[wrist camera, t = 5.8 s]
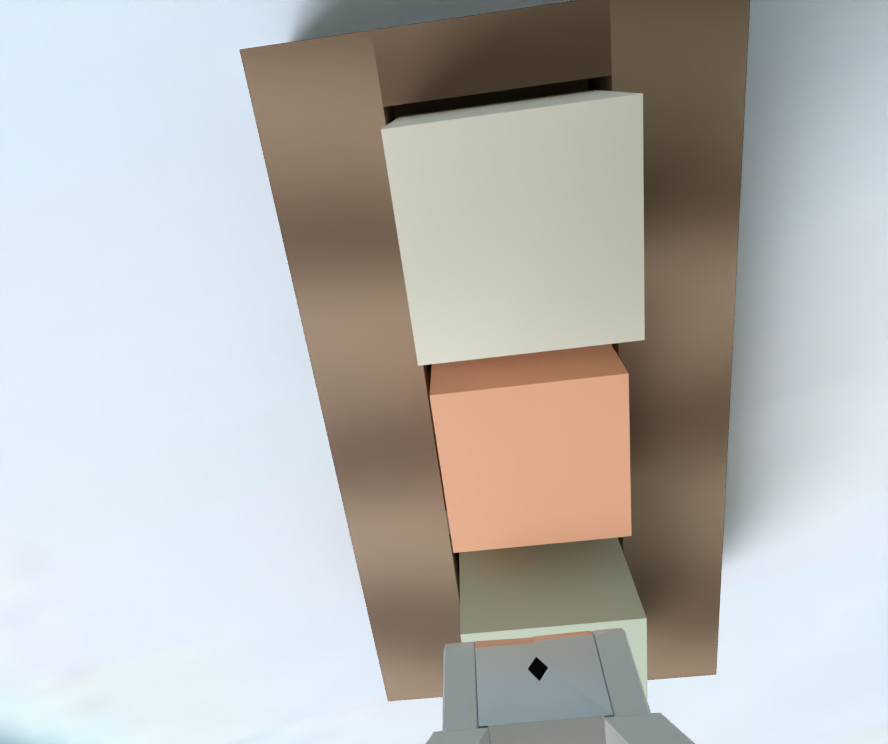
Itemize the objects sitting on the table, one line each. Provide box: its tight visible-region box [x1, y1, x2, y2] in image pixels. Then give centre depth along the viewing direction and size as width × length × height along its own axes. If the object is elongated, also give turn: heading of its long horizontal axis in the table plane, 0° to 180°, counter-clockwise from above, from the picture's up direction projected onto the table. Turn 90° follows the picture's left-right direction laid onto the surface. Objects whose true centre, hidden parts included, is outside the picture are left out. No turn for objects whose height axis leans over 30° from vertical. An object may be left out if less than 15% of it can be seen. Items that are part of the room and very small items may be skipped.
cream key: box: [381, 90, 645, 366], centre depth 16 cm, size 5×5×5 cm
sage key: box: [459, 537, 647, 699], centre depth 21 cm, size 5×5×5 cm
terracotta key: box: [430, 344, 632, 553], centre depth 20 cm, size 5×5×5 cm
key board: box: [240, 0, 750, 701], centre depth 22 cm, size 22×12×4 cm, turn 7°
